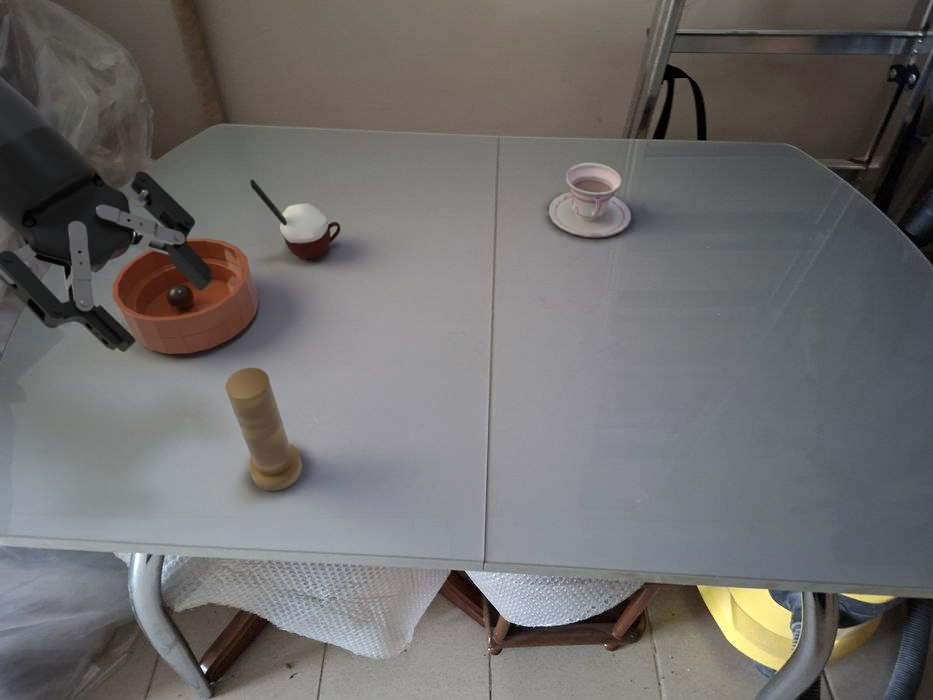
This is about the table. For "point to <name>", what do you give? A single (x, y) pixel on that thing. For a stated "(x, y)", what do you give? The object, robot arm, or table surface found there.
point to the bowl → (211, 311)
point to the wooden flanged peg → (263, 430)
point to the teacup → (591, 202)
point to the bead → (180, 296)
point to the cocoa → (302, 227)
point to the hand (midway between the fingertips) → (170, 314)
